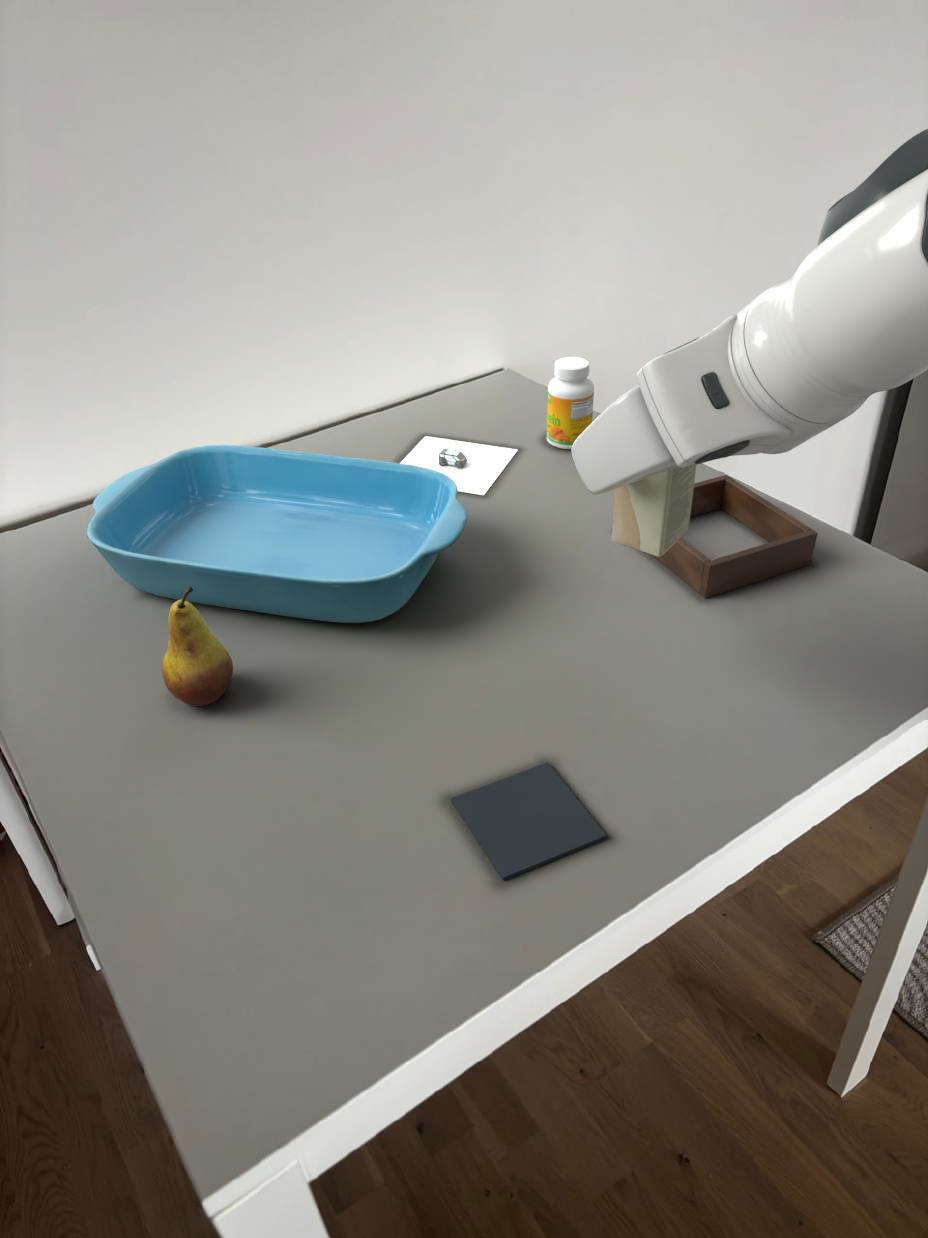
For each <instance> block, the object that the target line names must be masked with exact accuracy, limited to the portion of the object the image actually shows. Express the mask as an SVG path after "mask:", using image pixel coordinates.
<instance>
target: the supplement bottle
mask: <svg viewBox="0 0 928 1238" xmlns="http://www.w3.org/2000/svg"><path fill="white" fill-rule="evenodd" d="M589 375H590V362H589V360H587V359H586V358H582V357H580V356H579V357H578V356H565V357H560V358H558V359H556V360H555V361H554V377H553V378H552V379H551V380H550V381H549V383H548V385H547V409H546V412H547V413H546V441H547V443H549V444H550V445H551V446H553V447H555V448H558V449H563V450H572V445H573V443H574V442H575V440H576V439H577V438H578V437H579V436H580V434H581V433H582V432H583V431H584V430H585V429H586V428H587V427H588V426H589V425H590V424H591V423H592V422H593V415H594V400H595V399H594V397H595V385H594V383H593V381H592V380H591V379H590V378H589Z"/></svg>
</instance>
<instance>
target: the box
mask: <svg viewBox="0 0 928 1238" xmlns="http://www.w3.org/2000/svg"><path fill="white" fill-rule="evenodd" d="M697 465H698V464H694V465H691V466H688V467H676V468H673V469H670V470H668V471H665V472H662V473H659V474H656V475H653V476H651V477H648V478H645V479H642V480H639V481H637V482H634V483H631V484H628V485H625V486H622V487H620V488H617V489H614V502H613V516H612V517H613V519H612V531H611V532H612V533H611V541H612V542H613V543H616V544H618V545H622V546H624V547H628V548H631V549H634V550H636V551H640V552H643V553H646V554H649V555H651V554H652V555H655V556H657V557H661V556H662V555H663V554H665V553H666V552H667V551H668V550H669V549H670V548H671V547H672V546H673V545H674V544H675V543H676V542H677V541H678V540H679V539H680V538H682V537H683V536H684V535H685V533H686V532H687V531H688V530H689V529H690V519H691V517H690V513H691V504H692V497H693V489H694V483H696V473H697ZM652 555H651V556H652Z"/></svg>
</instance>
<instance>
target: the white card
mask: <svg viewBox="0 0 928 1238" xmlns="http://www.w3.org/2000/svg"><path fill="white" fill-rule="evenodd" d="M518 451H519V449H517V448H511V447H504V446H497V445H491V444H482V443H476V442H469V441H461V440H457V439H455V440H454V439H448V438H443V437H441V438H440V437H435V436H427V435H425V436H424V437H423V438H422V439H421V440H420V441H419V442H418V443H417V444H416V445H415V446H414V448H413V449H412V450H411V451H410V452H409V453H408V454H407V455H406V456H405V457H404V458H403V459H402V460H401V461H400V462H399V463H400V464H407V465H413V466H419V467H424V468H428V469H432V470H435V471H438V472H440V473H443V474H445V475H446V476H448V477H450V478H451V479H452V480H453V481H454V482H455V484H456V486H457V490H458V493H459V492H460V493H465V494H466V493H467V494H473V495H479V496H486V495H485V494H486V493H487V492H488V491H489V489H491V488H490V487H492V486H493V484H494V482H495V481H496V480H497V479H498V477H499V476H500V475H501V473H502V472H503V471H504V469H505V468H506V467H507V466H508V464H509V463H510V462H511V460H512V459H513V457H514V456H515V454H517V453H518Z"/></svg>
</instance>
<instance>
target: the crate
mask: <svg viewBox="0 0 928 1238" xmlns="http://www.w3.org/2000/svg"><path fill="white" fill-rule="evenodd" d="M717 510H722V511H724V512H725V513H726V514H728V515H729V516H731V517H732V518H733V519H735V520H736V521H738V522H740V523H741V524H742V525H744V526H746V528H748V529H750V530H751V531H753V532H755V534H757V535H759V536H760V537H762V538H763V539H765V541H768V542H767V543H764V544H760V545H757V546H753V547H750V548H747V549H744V550H740V551H737V552H734V553H731V554H728V555H724V556H722V557H718V558H714V559H710V558H709V557H708V556H706V555H705V554H703V553H702V552H701V551H699V550H698V549H697V548H696V547H694V546H693V545H692V544H690V543H689V542H688V541H687V540H685V539H683V538H682V537H681V538H680V539H679V540H678V541H677V542H676V543H675V544H674V545H673V546H672V547H671V548H670V549H669V550H668V551H667V552H666V553H665V554H663V555H662V556H661V557H657V556H655V555H652V554H650V555H651V556H652V557H653V558H654V559H656V560H657V561H658V562H660V564H662V565H663V566H664V567H666V568H667V569H668V570H669V571H671V573H672V574H675V575H676V576H677V578H679V579H681V580H682V581H683V582H684V583H685V584H687V585H688V586H689V587H690V588H692V589H693V590H695V591H696V592H697V593H698V594H699V595H701V596H702V597H703V598H704V599H707V598H710V597H714V596H717V595H720V594H722V593H726V592H729V591H732V590H735V589H738V588H741V587H745V586H748V585H750V584H754V583H757V582H760V581H763V580H766V579H769V578H772V577H775V576H778V575H782V574H784V573H787V572H790V571H794V570H797V569H800V568H802V567H805V566H809V565H812V561H813V556H814V552H815V547H816V543H817V538H818V532H817V531H815V530H814V529H812V528H811V527H809V526H808V525H806V524H804V523H803V522H801V521H800V520H798V519H796V518H795V517H794V516H792V515H791V514H789V513H787V512H786V511H784V510H783V509H782V508H779V507H778V506H776V505H775V504H773V503H772V502H770V501H769V500H768V499H765V498H764V497H762V496H761V495H759V494H757V493H756V492H755V491H753V490H752V489H750V488H749V487H747V486H745V485H744V484H742V483H740V482H739V481H738V480H736V479H734V478H732V477H731V476H730V475H728V474H724V475H719V476H717V477H713V478H709V479H705V480H702V481H697V482H694V489H693V497H692V504H691V513H690V518H692V517H695V516H700V515H702V514H706V513H710V512H714V511H717Z"/></svg>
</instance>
